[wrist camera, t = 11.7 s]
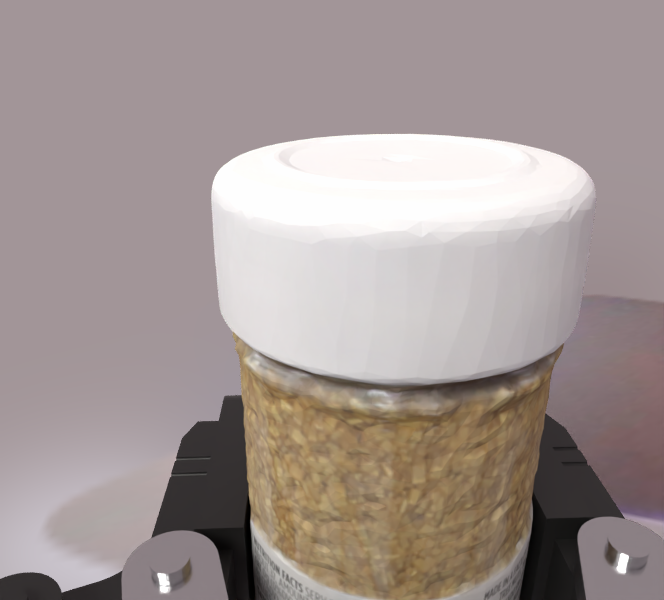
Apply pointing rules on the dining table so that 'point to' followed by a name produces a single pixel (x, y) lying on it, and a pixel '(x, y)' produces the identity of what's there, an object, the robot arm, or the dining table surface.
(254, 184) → the sprinkles bottle
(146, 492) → the dining table surface
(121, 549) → the dining table surface
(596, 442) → the dining table surface
